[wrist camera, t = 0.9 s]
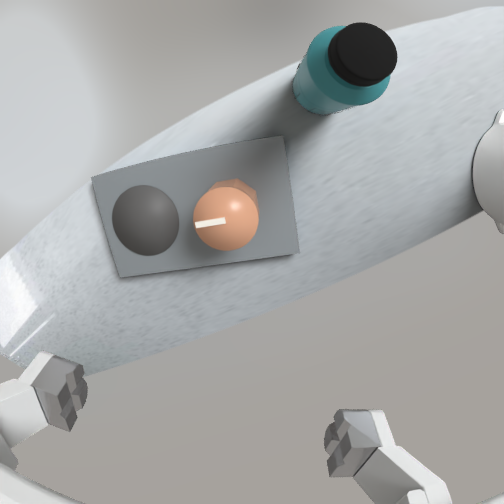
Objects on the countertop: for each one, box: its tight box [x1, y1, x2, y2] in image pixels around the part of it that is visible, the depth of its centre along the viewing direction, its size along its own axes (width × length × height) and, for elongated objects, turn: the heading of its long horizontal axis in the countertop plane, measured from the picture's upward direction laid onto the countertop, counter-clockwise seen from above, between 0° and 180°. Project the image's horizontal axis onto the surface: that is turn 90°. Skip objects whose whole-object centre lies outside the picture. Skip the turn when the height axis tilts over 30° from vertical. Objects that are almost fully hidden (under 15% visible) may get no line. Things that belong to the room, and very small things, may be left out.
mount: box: [91, 135, 300, 278], centre depth 36 cm, size 24×14×6 cm, turn 100°
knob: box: [193, 178, 259, 251], centre depth 34 cm, size 6×6×6 cm
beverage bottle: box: [292, 23, 397, 115], centre depth 24 cm, size 6×7×20 cm
